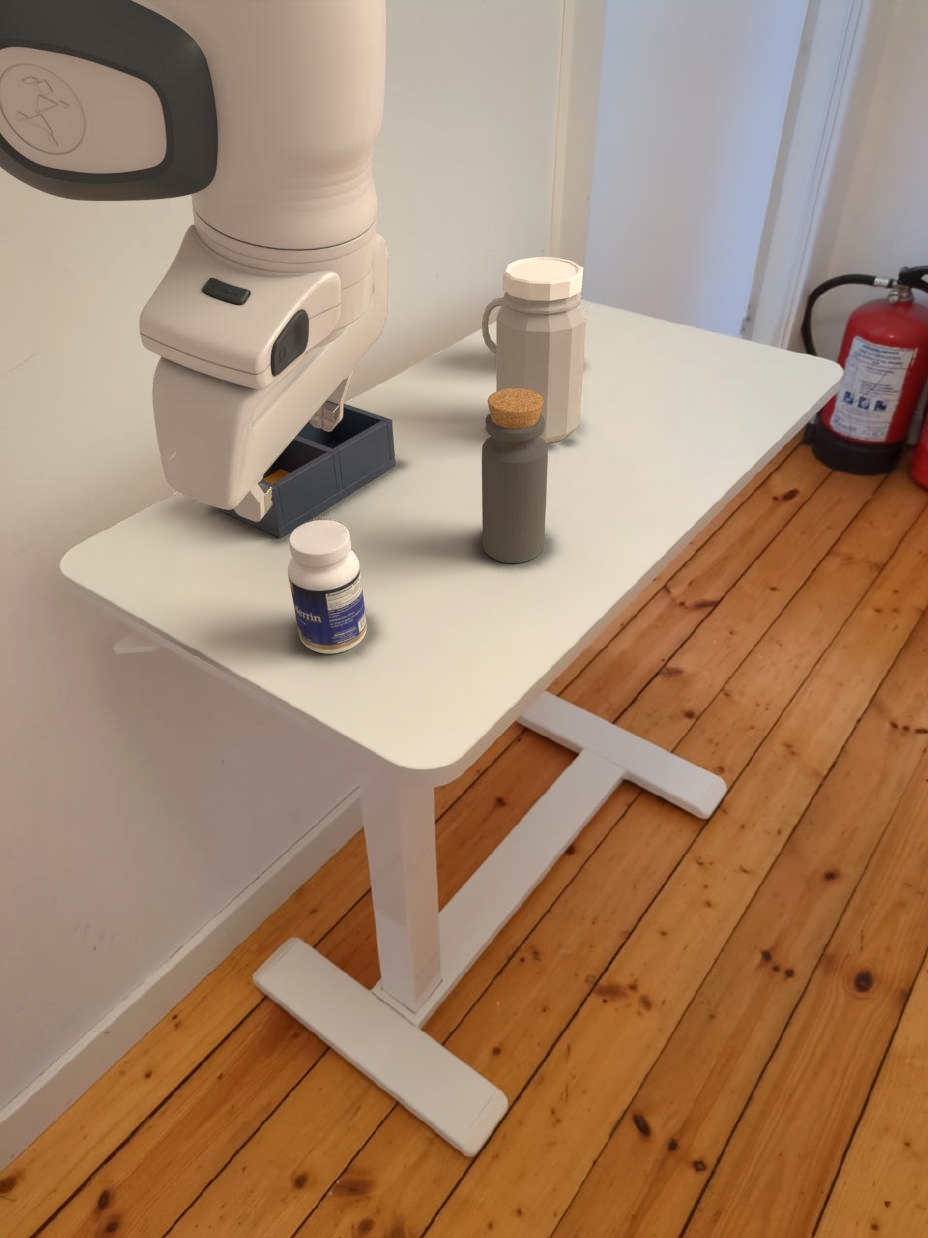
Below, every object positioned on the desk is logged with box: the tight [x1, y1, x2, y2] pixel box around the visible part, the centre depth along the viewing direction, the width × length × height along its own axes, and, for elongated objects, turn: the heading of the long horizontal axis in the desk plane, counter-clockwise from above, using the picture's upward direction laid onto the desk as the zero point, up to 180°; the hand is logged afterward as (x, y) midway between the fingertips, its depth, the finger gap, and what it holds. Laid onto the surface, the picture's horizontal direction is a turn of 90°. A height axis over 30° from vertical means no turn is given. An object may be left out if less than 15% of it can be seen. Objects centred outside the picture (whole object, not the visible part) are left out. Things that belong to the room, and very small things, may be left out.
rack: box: [217, 403, 397, 539], centre depth 93 cm, size 17×9×6 cm, turn 143°
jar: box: [495, 256, 588, 444], centre depth 98 cm, size 10×10×18 cm
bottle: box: [481, 388, 549, 564], centre depth 80 cm, size 6×6×15 cm
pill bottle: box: [287, 519, 368, 654], centre depth 72 cm, size 6×6×10 cm
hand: (291, 465), depth 56 cm, fingers open, 8 cm apart
